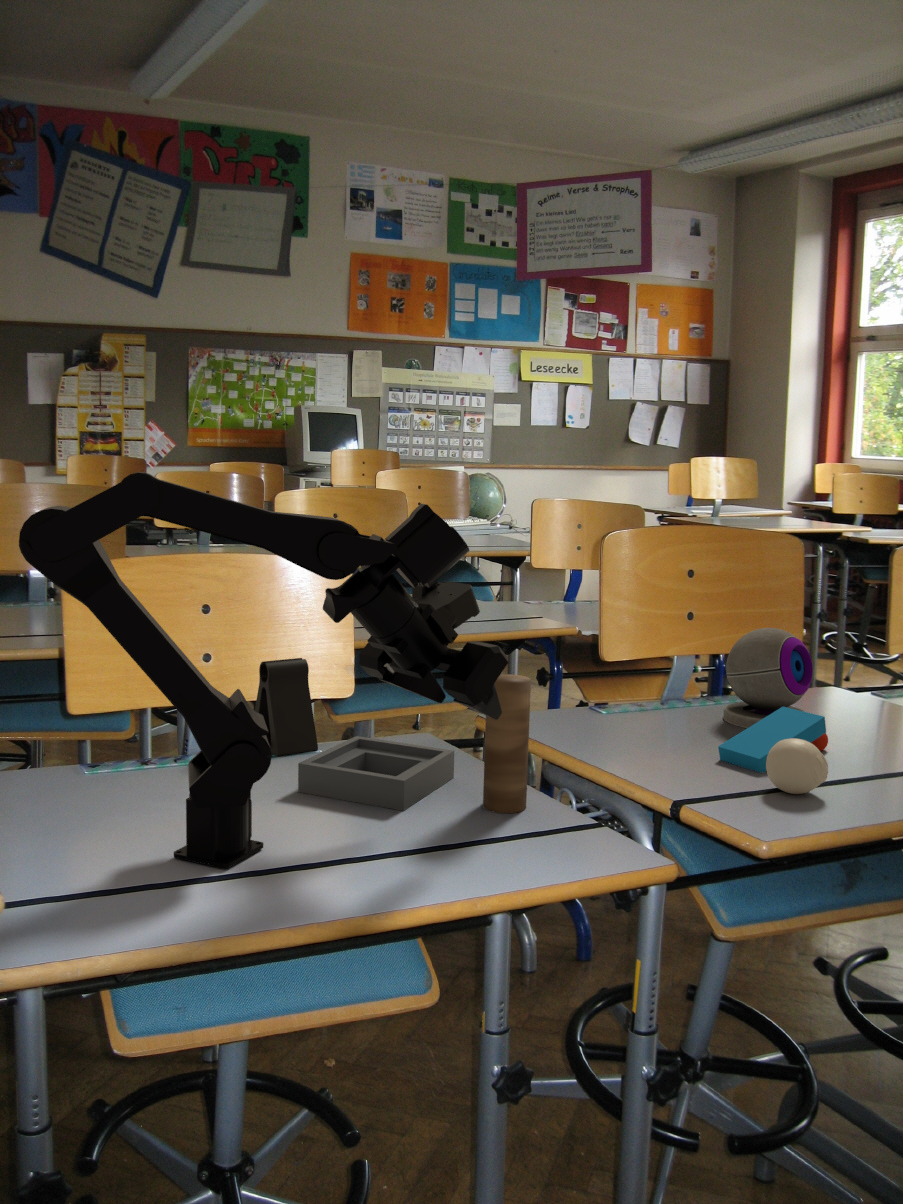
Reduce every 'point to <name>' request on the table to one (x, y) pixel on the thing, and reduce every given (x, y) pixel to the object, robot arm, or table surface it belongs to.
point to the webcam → (766, 674)
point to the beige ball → (796, 766)
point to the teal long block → (773, 737)
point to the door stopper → (286, 706)
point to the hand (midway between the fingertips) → (469, 707)
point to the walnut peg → (508, 747)
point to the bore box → (376, 772)
